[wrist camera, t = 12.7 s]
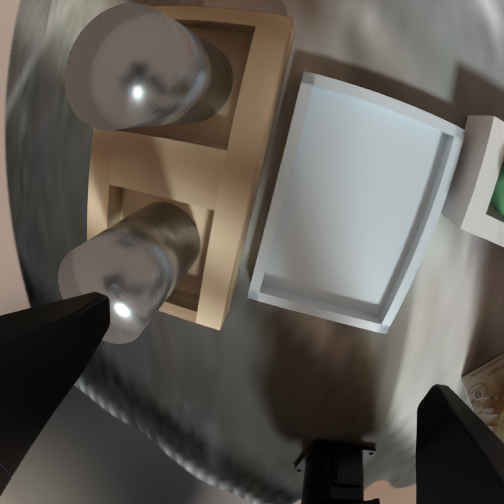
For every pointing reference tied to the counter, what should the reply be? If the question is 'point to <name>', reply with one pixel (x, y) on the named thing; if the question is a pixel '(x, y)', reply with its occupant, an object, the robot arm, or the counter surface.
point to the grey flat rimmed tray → (353, 204)
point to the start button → (499, 192)
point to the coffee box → (487, 394)
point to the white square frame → (478, 180)
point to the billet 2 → (133, 266)
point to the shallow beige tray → (201, 157)
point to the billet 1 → (144, 71)
